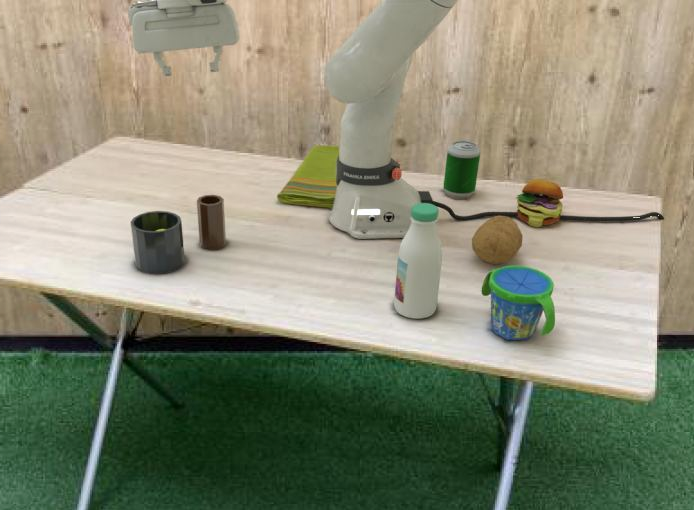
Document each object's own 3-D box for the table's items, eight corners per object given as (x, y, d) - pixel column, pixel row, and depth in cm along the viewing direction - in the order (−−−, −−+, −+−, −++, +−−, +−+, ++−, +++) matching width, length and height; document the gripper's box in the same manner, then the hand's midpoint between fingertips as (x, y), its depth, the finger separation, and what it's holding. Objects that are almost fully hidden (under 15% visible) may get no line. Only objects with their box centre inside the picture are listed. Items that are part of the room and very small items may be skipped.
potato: (522, 247, 164) (529, 212, 160) (514, 278, 153) (521, 241, 149) (476, 239, 167) (481, 205, 163) (464, 269, 156) (469, 233, 151)
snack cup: (565, 347, 134) (577, 295, 128) (514, 361, 130) (524, 308, 124) (510, 303, 145) (519, 254, 140) (462, 315, 142) (469, 265, 136)
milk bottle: (441, 303, 145) (453, 203, 134) (428, 324, 139) (440, 220, 128) (401, 294, 148) (410, 195, 137) (387, 313, 142) (395, 212, 131)
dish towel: (276, 203, 181) (276, 190, 179) (312, 150, 210) (312, 138, 208) (341, 210, 178) (342, 197, 176) (368, 156, 207) (369, 144, 205)
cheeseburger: (509, 224, 173) (517, 178, 170) (516, 216, 183) (523, 173, 179) (557, 231, 170) (566, 185, 166) (560, 223, 179) (569, 179, 176)
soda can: (476, 200, 184) (483, 151, 177) (444, 200, 184) (450, 150, 177) (471, 187, 190) (478, 139, 184) (440, 187, 190) (446, 139, 184)
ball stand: (227, 239, 166) (225, 195, 160) (222, 251, 161) (220, 206, 156) (203, 237, 166) (200, 193, 161) (197, 249, 162) (194, 204, 156)
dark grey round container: (189, 252, 161) (186, 212, 156) (177, 275, 153) (173, 233, 148) (143, 249, 162) (139, 209, 157) (129, 272, 154) (124, 230, 149)
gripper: (121, 2, 146) (135, 80, 151) (230, -9, 143) (239, 71, 149) (130, 1, 151) (143, 76, 157) (235, -9, 149) (244, 67, 155)
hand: (191, 73), depth 153 cm, fingers open, 8 cm apart
